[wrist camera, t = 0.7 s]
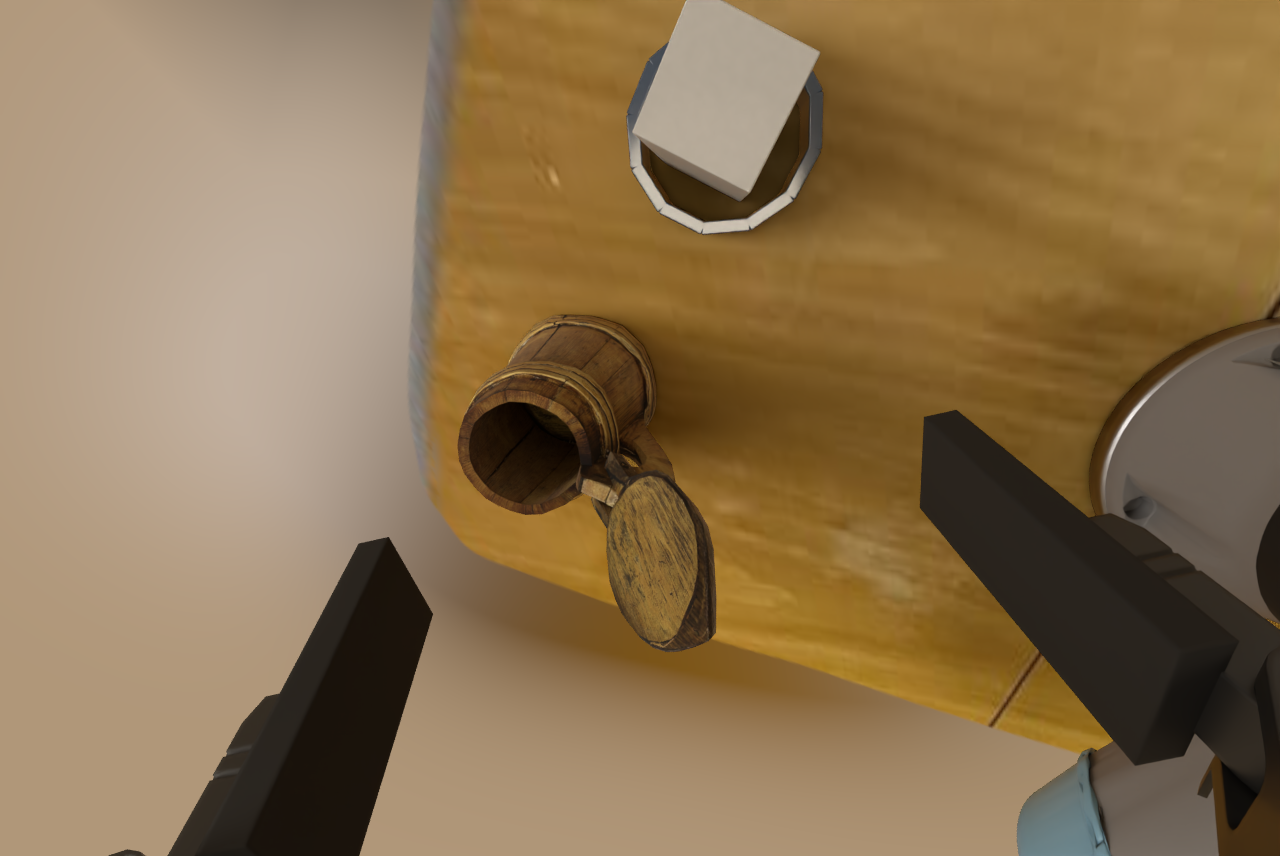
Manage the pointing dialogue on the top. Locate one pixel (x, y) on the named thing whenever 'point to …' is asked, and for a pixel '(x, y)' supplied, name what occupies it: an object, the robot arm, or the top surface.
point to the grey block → (723, 95)
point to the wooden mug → (596, 467)
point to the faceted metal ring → (808, 154)
